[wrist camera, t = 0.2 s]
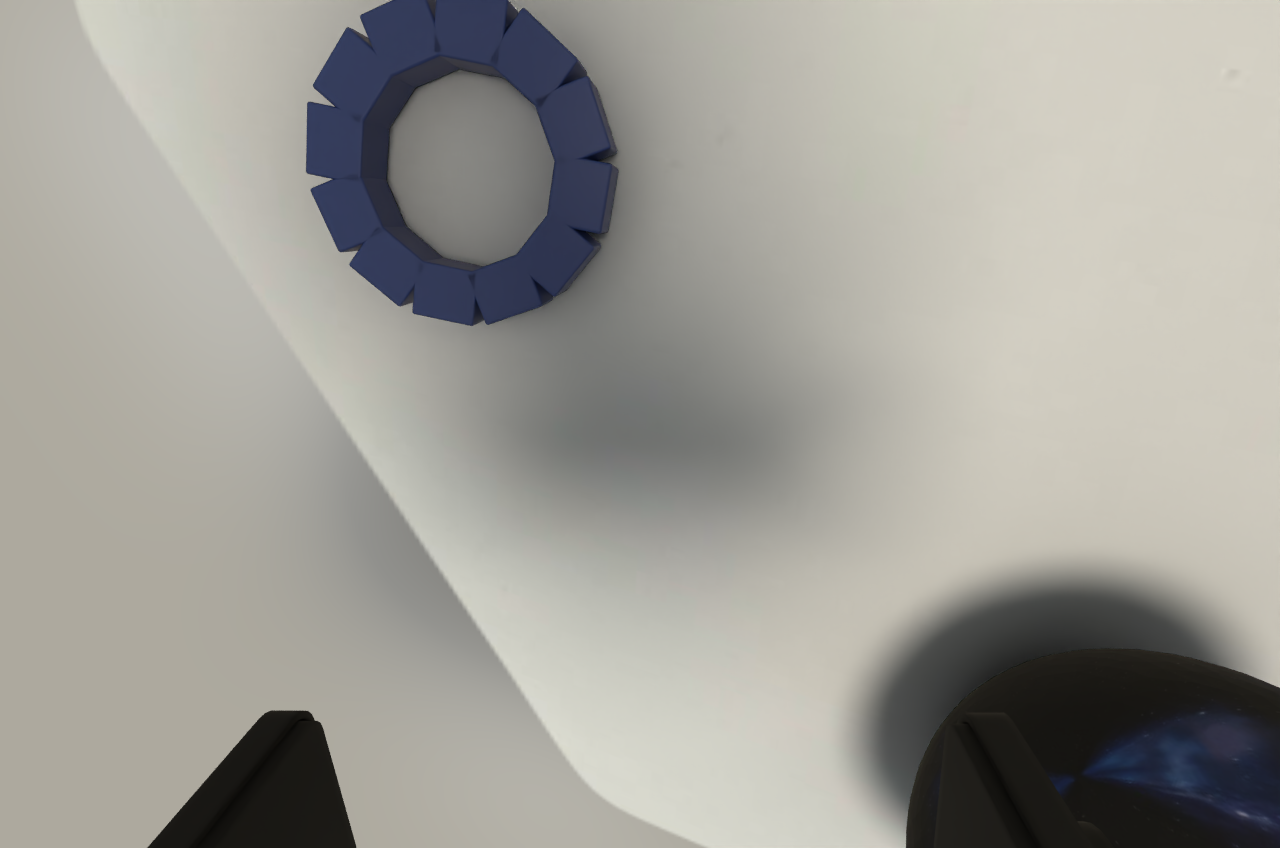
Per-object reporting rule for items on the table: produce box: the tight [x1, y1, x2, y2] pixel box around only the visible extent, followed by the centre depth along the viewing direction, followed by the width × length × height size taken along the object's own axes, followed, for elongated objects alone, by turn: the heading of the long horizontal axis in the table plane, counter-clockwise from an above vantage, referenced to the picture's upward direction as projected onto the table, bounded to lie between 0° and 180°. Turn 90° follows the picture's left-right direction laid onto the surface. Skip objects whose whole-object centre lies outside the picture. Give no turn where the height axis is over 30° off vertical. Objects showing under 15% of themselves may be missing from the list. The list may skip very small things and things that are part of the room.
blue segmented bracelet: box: [306, 0, 618, 326], centre depth 20 cm, size 10×10×2 cm
